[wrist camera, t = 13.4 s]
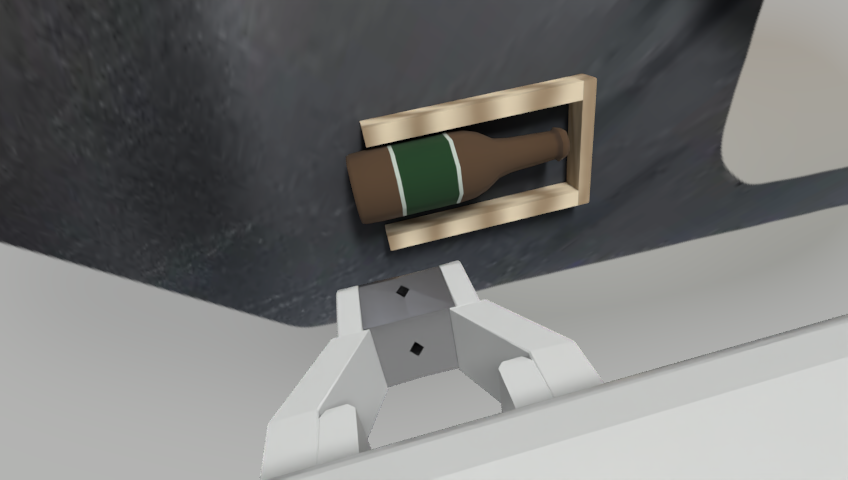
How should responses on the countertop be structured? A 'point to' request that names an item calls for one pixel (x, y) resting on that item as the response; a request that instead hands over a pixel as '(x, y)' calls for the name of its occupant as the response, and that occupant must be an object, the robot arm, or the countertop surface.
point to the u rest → (487, 108)
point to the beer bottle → (442, 169)
